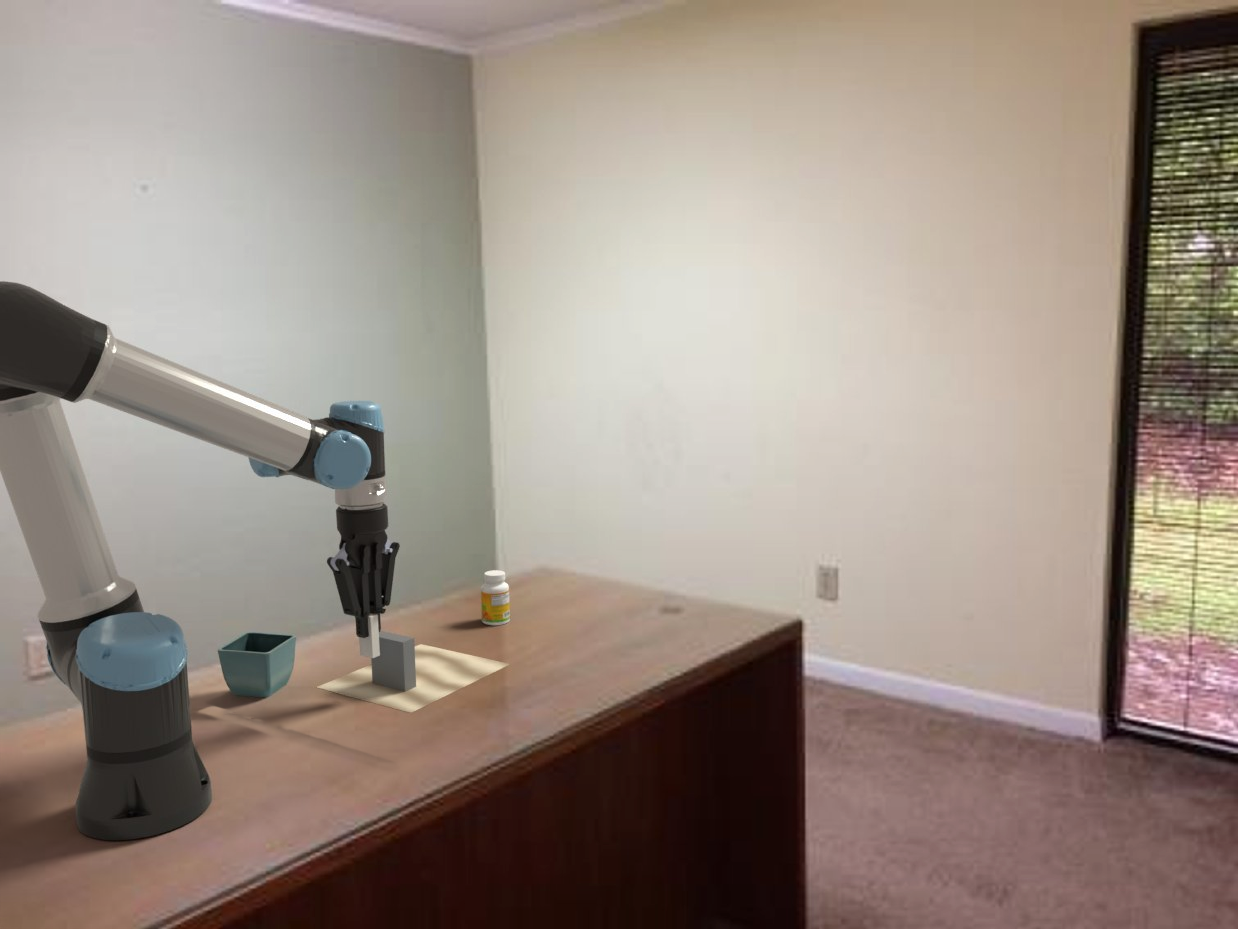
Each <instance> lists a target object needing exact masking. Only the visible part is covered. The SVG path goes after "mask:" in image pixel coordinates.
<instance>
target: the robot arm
mask: <svg viewBox="0 0 1238 929" xmlns="http://www.w3.org/2000/svg"><path fill="white" fill-rule="evenodd" d="M62 399H63V400H64V401H68V402H70V403H73V404H75V403H79V402H81V401H84V400H90V401H93V402H96V403H99V404H102V405H105V406H107V407H110V408H112V409H114V410H117V411H120V412H123V413H126V414H128V415H132V416H135V417H137V418H139V419H143V420H145V421H147V422H148V421H149V422H151V423H153V424H157V425H159V426H162V427H164V428H168V429H170V430H173V431H176V432H178V433H181V434H183V435H187V436H189V437H192V438H194V439H198V440H199V441H200V440H201V441H203V442H205V443H209V444H211V445H214V446H216V447H219V448H221V449H224V450H228V451H230V452H233V453H235V454H238V455H241V456H244V457H247V458H248V462H249V464H250V467H251V469H252V471H253V472H254V474H255V475H257V476H258V477H260V478H274V477H275V478H280V477H284V476H294V477H297V478H298V479H299V478H300V479H303V480H305V481H309V482H310V481H311V482H313V483H316V484H319V485H321V486H324V487H325V488H329V489H332V490H334V503H335V504H336V505H337V508H336V509H335V514H336V515H335V516H336V518H335V519H336V530H337V531H338V532H339V534H340V541H339V544H338V549H339V550H338V552H337V553H336V554H335V555H334V556H328V557H327V559H326V564H327V565H328V567H329V568H330V570H331V571H332V574H333V577H334V581H335V586H336V588H337V592H338V593H337V594H338V596H339V600H340V603H341V604H340V605H341V608H342V611H343V614H344V615H348V616H351V617H354V618H355V620H354V621H355V633H356V637H358V639H359V653H360V654H359V656H361V657H365V658H370V659H371V658H375V657H377V656H380V647H379V632H380V631H382V630H381V629H382V624H381V623H382V622H381V615H383V614H385V613H386V611H387V610H386V608H385V606H386V607H388V606H389V605H390V604H391V599H392V592H393V582H394V574H395V566H396V557H397V555H398V552H399V550H400V548H401V547H400V543H399V542H395V541H391V540H389V539H388V535H387V532H386V530H387V529H388V527H389V513H388V505H386V504H385V502H386V501H387V499H388V497H387V479H386V476H387V475H386V461H385V460H386V458H385V454H386V453H385V428H384V420H383V419H384V417H383V412H382V408H381V406H380V404H378V403H377V402H375V401H370V400H347V401H339V402H333V403H332V404H331V405H330V407H329V413H328V417H324V418H320V419H319V418H318V419H312V418H309V417H307V416H305V415H303V414H300V413H298V412H295V411H294V410H290V409H288V408H285V407H283V406H282V405H278V404H277V403H274V402H272V401H269V400H267V399H263V398H262V397H260V396H257V395H254V394H253V393H250V392H247V391H244V390H243V389H240V388H238V387H236V386H233V385H230V384H228V383H225V382H223V381H220V380H218V379H215V378H213V377H210V376H208V375H206V374H204V373H202V372H201V373H200V372H198V371H196V370H194V369H192V368H189V367H186V366H184V365H181V364H179V363H176V362H174V361H172V360H169V359H167V358H165V357H162V356H159V355H157V354H155V353H152V352H150V351H147V350H145V349H142V348H141V347H137V346H136V345H133V344H130V343H129V342H126V341H123V340H121V339H119V338H116V337H115V336H114V334H113V332H112V329H111V327H110V326H109V325H107V324H105V323H103V322H101V321H98V320H96V319H94V318H91V317H89V316H87V315H85V314H82V313H80V312H79V311H77V310H74V309H73V308H72V307H68V306H67V305H65V304H63V303H61V302H59V301H57V300H56V299H54V298H53V297H50V296H49V295H47V294H45V293H43V292H41V291H39V290H37V289H35V288H33V287H31V286H28V285H25V284H22V283H19V282H15V281H14V282H12V281H5V280H3V281H0V474H1V478H2V480H3V482H4V485H5V486H4V487H5V488H6V491H7V494H8V497H9V499H10V502H11V504H12V508H13V510H14V513H15V516H16V519H17V522H18V524H19V527H20V530H21V533H22V535H23V538H24V541H25V544H26V547H27V549H28V552H29V556H30V557H31V560H32V564H33V566H34V569H35V571H36V572H35V573H36V574H37V577H38V579H39V582H40V586H41V588H42V592H43V595H44V597H45V600H44V602H43V604H42V605H41V607H40V608H39V611H38V612H37V618H38V622H39V624H40V626H41V629H42V631H43V632H42V633H43V635H44V638H45V640H46V646H45V650H46V657H47V660H48V663H49V666H50V669H52V670H51V671H53V673H54V675H55V676H56V677H57V678H58V679H59V681H60V682H62V683H63V684H64V685H65V686H67V687H68V689H69V690H70V691H71V693H72V694H73V695H74V696H75V697H76V699H77V700H78V701H79V702H80V704H81V708H82V718H83V726H84V738H85V739H84V740H85V748H86V749H85V750H86V764H85V767H84V770H83V771H84V772H83V774H82V778H81V782H80V788H79V791H78V796H77V799H76V802H75V820H76V821H75V822H76V826H77V829H78V831H80V833H82V834H84V835H86V836H87V837H90V838H93V839H97V840H105V841H127V840H129V841H130V840H137V839H142V838H148V837H149V838H150V837H152V836H156V835H160V834H164V833H168V832H169V831H173V830H175V829H178V828H179V827H182V826H184V825H186V824H188V823H191V822H192V821H194V820H196V819H197V818H198V817H199V816H201V815H202V814H203V813H204V812H205V811H207V809H208V808H210V805H211V803H212V800H213V793H212V792H213V791H212V790H213V789H212V781H211V777H210V776H209V774H208V771H207V768H206V767H205V765H204V763H203V761H202V759H201V756H200V754H199V752H198V749H197V748H196V745H195V743H194V741H193V740H194V739H193V732H192V731H193V730H192V720H191V719H192V718H191V705H190V704H191V703H190V692H189V690H190V688H189V677H188V664H187V663H188V662H187V661H188V649H187V643H186V642H185V636H184V631H183V629H182V627H181V626H180V625H179V623H178V622H177V621H176V620H174V619H173V618H171V617H169V616H166V615H163V614H161V613H159V614H158V613H157V614H152V613H151V612H145V610H144V607H143V605H142V602H141V598H140V595H139V593H138V589H137V587H136V584H135V583H134V582H133V581H131V580H129V579H127V578H124V577H121V576H120V575H119V573H118V570H117V567H116V565H115V561H114V559H113V556H112V552H111V550H110V546H109V544H108V541H107V537H106V535H105V531H104V528H103V525H102V522H101V520H100V517H99V514H98V511H97V508H96V505H95V502H94V499H93V496H92V493H91V489H90V488H89V483H88V482H87V478H86V475H85V471H84V469H83V465H82V464H81V460H80V457H79V454H78V451H77V447H76V444H75V443H74V439H73V436H72V433H71V430H70V427H69V424H68V421H67V418H66V415H65V413H64V409H63V406H62V403H61V401H60V400H62Z"/></svg>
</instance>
